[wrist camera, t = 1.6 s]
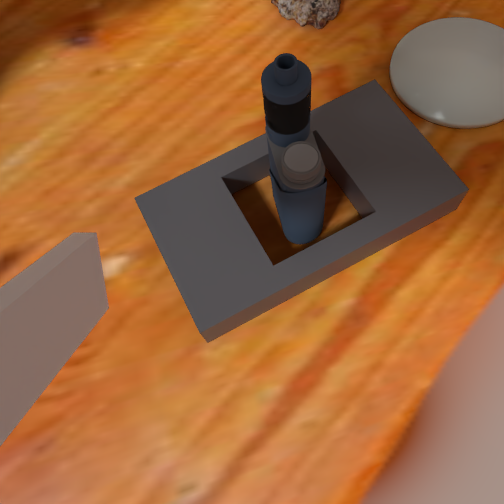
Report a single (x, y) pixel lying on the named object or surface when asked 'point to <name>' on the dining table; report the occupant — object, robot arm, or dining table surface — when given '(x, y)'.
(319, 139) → the block
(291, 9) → the mineral rock
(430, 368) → the dining table surface
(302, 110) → the vaping device
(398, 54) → the coaster
